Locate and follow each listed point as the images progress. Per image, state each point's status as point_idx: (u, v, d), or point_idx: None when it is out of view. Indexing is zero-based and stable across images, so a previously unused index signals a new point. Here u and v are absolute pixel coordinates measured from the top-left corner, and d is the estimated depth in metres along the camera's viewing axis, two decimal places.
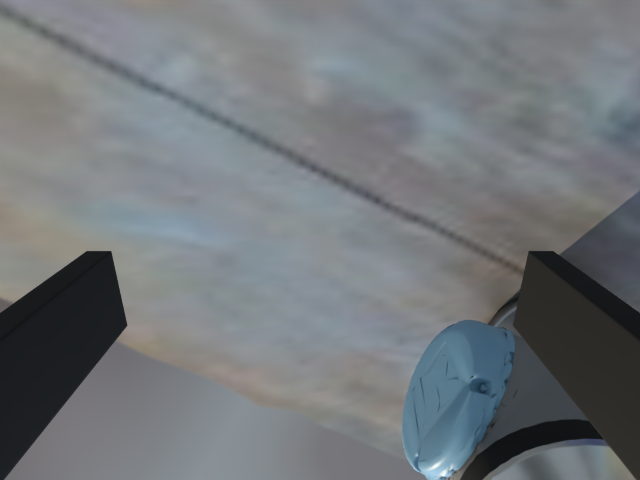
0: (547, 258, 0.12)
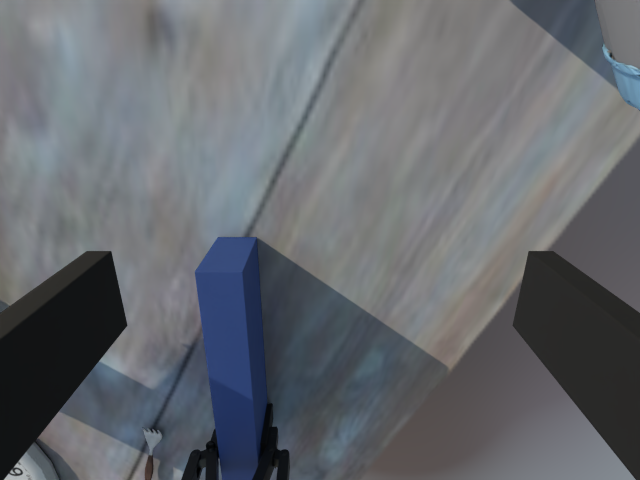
0: (547, 258, 0.12)
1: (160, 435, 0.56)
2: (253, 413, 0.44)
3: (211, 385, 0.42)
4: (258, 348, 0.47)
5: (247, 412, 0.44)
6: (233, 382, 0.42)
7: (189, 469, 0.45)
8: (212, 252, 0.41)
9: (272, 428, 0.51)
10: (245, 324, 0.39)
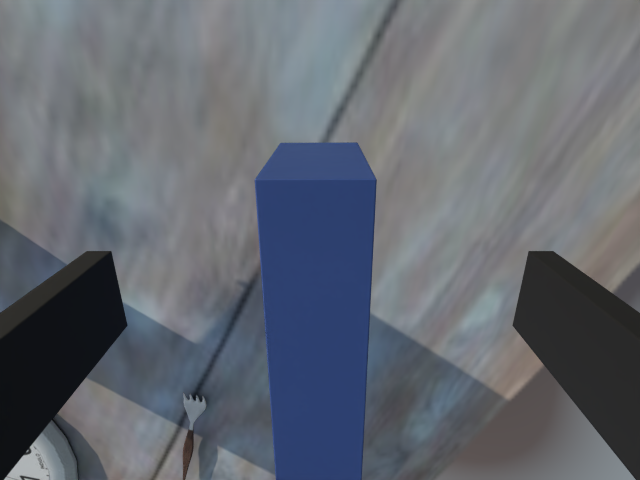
0: (547, 258, 0.12)
1: (204, 404, 0.44)
2: None
3: (277, 444, 0.20)
4: None
5: None
6: (325, 438, 0.20)
7: None
8: (281, 156, 0.19)
9: None
10: (366, 314, 0.17)
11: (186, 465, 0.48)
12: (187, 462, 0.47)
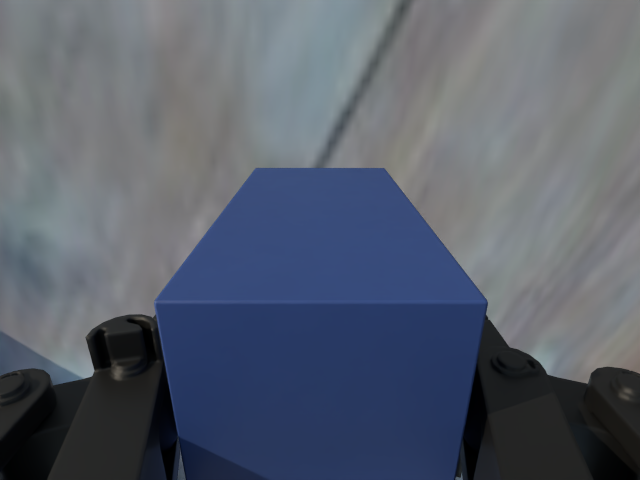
0: None
1: None
2: None
3: None
4: None
5: None
6: None
7: None
8: (248, 204, 0.10)
9: None
10: None
11: None
12: None
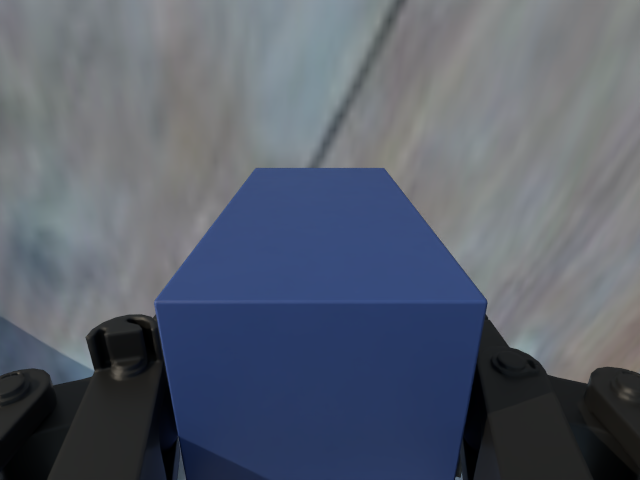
0: None
1: None
2: None
3: None
4: None
5: None
6: None
7: None
8: (248, 204, 0.10)
9: None
10: None
11: None
12: None
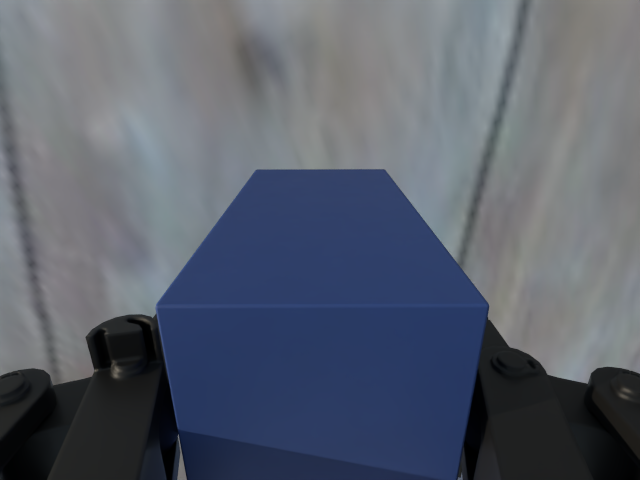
0: None
1: None
2: None
3: None
4: None
5: None
6: None
7: None
8: (249, 206, 0.10)
9: None
10: None
11: None
12: None
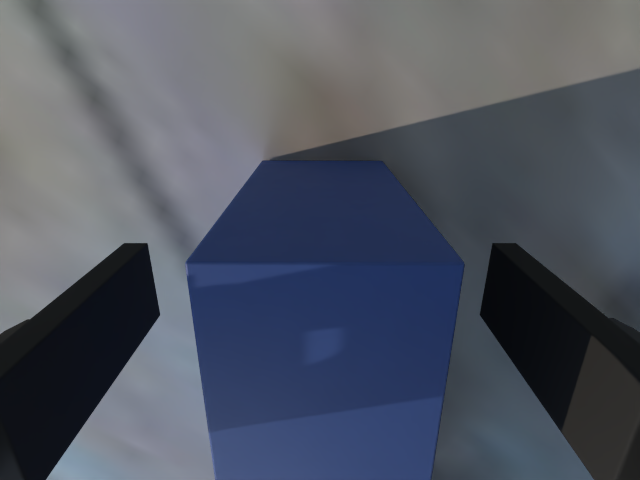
0: (509, 249, 0.12)
1: None
2: None
3: None
4: None
5: None
6: None
7: None
8: (258, 190, 0.11)
9: None
10: None
11: None
12: None
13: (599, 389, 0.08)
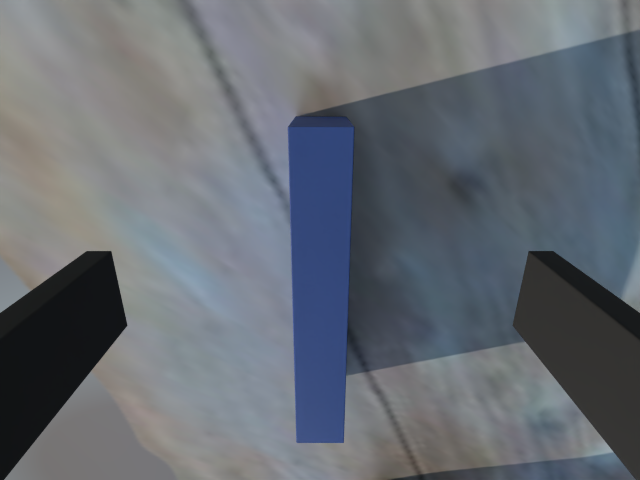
0: (547, 258, 0.12)
1: None
2: (346, 341, 0.33)
3: (294, 300, 0.32)
4: None
5: (338, 340, 0.33)
6: (325, 295, 0.32)
7: None
8: (298, 120, 0.31)
9: None
10: (349, 209, 0.29)
11: None
12: None
13: None
